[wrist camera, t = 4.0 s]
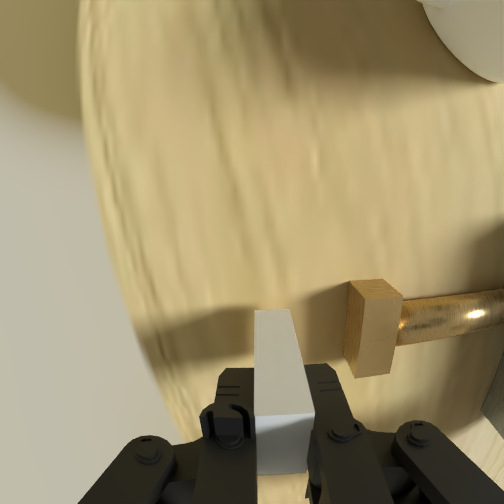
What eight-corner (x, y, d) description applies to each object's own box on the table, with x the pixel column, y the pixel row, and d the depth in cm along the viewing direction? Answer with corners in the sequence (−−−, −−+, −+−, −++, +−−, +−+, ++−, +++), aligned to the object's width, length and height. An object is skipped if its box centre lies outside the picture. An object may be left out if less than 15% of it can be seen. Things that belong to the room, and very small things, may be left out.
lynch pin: (342, 352, 15) (354, 378, 13) (349, 280, 14) (365, 299, 12) (499, 325, 15) (520, 340, 13) (511, 268, 14) (535, 279, 12)
